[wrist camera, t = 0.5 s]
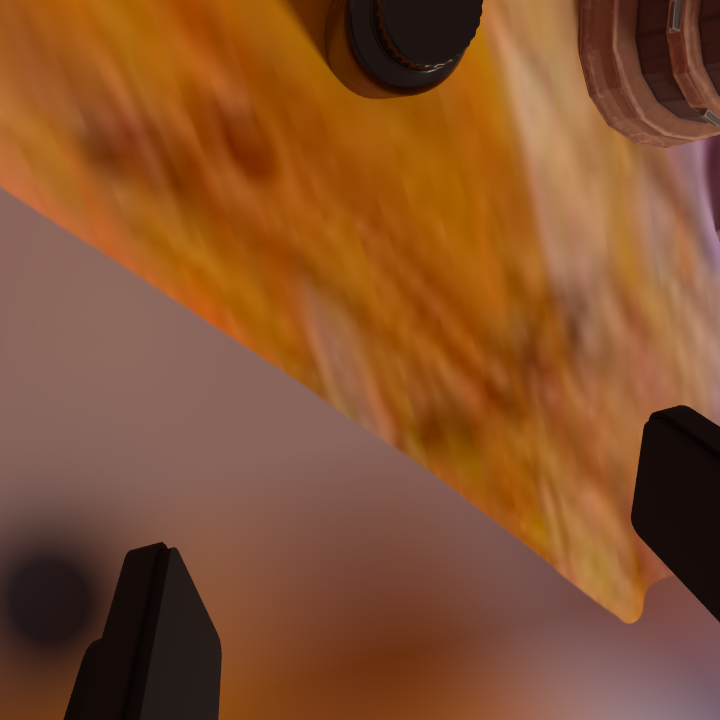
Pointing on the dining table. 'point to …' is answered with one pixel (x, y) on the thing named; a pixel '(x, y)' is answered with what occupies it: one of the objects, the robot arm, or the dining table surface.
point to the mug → (654, 67)
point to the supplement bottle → (398, 43)
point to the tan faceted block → (718, 233)
